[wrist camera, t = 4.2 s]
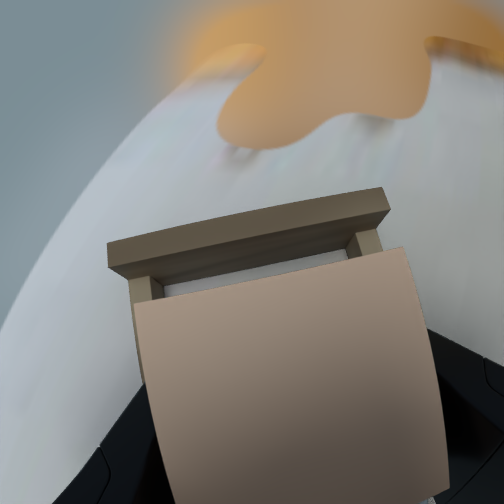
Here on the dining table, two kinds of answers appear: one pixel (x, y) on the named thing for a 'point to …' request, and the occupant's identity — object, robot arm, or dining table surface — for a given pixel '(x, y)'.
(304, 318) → the peach block
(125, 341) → the dining table surface
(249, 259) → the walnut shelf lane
